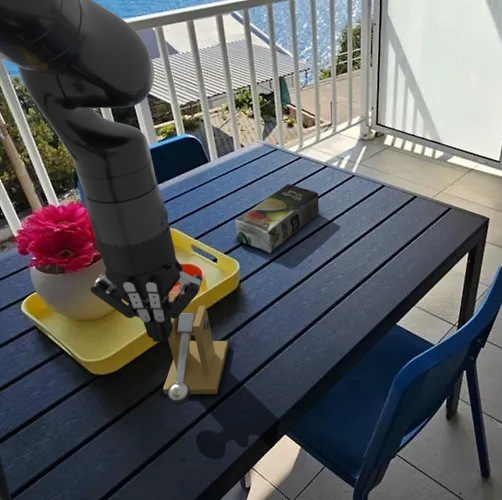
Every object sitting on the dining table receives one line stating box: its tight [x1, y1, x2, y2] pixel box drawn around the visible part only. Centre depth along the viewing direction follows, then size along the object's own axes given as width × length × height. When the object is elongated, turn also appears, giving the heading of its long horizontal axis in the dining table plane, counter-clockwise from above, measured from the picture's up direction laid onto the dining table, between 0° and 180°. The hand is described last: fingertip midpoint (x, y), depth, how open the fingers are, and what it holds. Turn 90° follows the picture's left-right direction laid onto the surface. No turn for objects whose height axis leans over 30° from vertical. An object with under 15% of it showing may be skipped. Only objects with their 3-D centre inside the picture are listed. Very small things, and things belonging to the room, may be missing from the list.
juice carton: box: [235, 183, 320, 254], centre depth 112 cm, size 20×10×6 cm, turn 150°
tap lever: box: [166, 312, 196, 406], centre depth 73 cm, size 13×3×3 cm
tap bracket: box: [162, 305, 229, 395], centre depth 77 cm, size 10×8×12 cm
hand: (162, 336), depth 64 cm, fingers closed
